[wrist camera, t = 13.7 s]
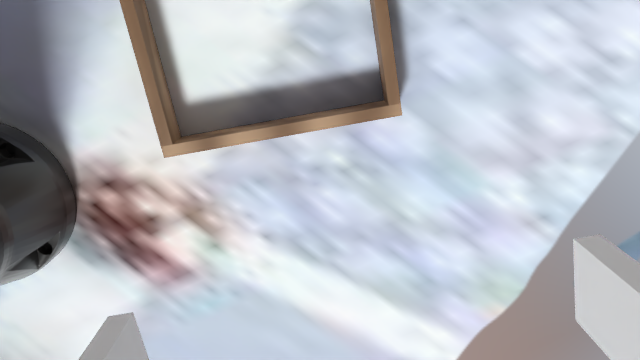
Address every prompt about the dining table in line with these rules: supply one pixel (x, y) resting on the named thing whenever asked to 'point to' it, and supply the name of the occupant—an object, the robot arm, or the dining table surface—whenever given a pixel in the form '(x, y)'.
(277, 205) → the dining table surface
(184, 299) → the dining table surface
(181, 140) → the frame
